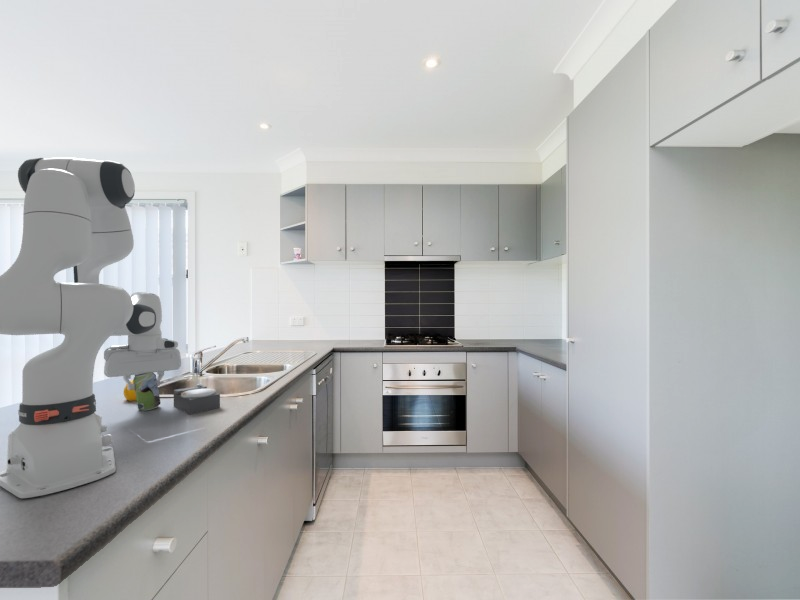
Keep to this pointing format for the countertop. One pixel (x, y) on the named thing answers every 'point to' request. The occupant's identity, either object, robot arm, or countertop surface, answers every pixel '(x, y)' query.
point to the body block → (196, 399)
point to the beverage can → (146, 391)
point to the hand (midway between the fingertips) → (144, 387)
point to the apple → (130, 393)
